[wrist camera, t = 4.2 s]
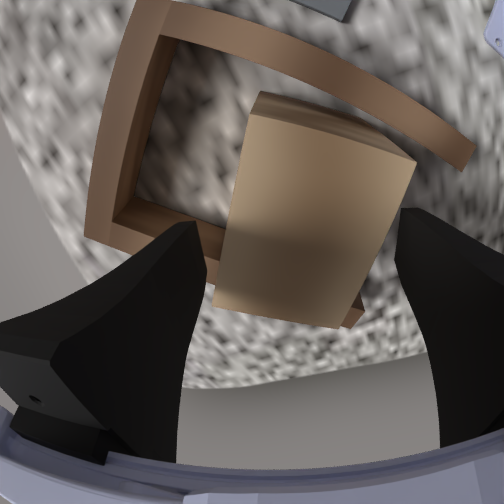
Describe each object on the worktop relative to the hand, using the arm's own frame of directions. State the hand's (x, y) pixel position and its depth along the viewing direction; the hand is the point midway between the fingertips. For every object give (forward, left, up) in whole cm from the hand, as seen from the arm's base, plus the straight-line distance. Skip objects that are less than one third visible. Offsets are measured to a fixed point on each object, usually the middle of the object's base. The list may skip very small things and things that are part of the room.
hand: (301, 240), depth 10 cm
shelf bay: (+1, 0, -7) cm, 7 cm away
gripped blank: (0, 0, -7) cm, 7 cm away
